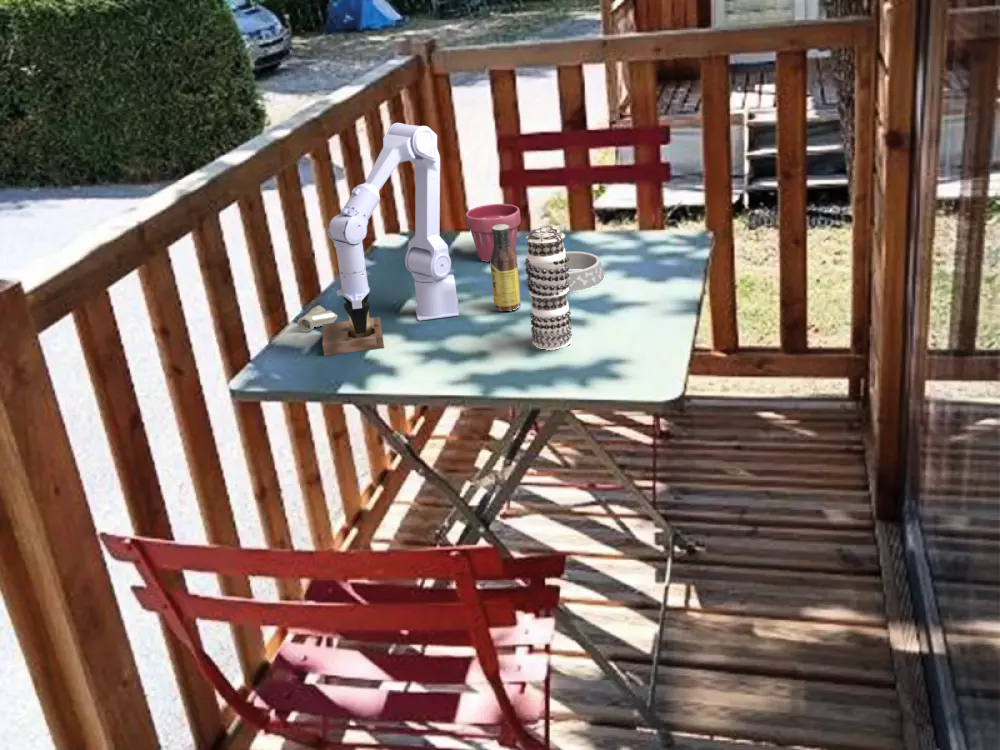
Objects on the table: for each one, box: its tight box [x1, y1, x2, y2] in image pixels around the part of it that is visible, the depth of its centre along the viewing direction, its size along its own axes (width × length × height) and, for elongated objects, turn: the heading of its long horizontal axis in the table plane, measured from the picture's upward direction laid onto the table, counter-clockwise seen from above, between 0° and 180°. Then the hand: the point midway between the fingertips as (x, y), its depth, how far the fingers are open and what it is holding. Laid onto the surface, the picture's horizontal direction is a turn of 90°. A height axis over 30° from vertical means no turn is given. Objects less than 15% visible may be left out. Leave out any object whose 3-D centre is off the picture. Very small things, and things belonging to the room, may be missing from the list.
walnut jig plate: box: [322, 316, 385, 357], centre depth 251 cm, size 13×13×2 cm
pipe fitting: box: [297, 304, 338, 333], centre depth 262 cm, size 8×4×7 cm
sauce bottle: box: [489, 224, 521, 312], centre depth 259 cm, size 7×6×20 cm
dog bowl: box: [564, 250, 605, 291], centre depth 276 cm, size 17×18×5 cm
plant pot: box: [465, 203, 522, 261], centre depth 296 cm, size 14×14×13 cm
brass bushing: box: [348, 309, 372, 338], centre depth 248 cm, size 4×4×6 cm
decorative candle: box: [524, 226, 573, 351], centre depth 236 cm, size 9×9×25 cm
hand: (360, 328), depth 249 cm, fingers closed on brass bushing, 4 cm apart
